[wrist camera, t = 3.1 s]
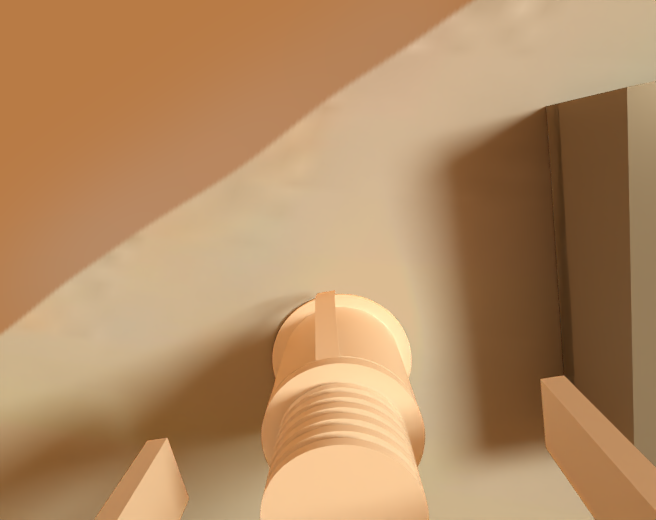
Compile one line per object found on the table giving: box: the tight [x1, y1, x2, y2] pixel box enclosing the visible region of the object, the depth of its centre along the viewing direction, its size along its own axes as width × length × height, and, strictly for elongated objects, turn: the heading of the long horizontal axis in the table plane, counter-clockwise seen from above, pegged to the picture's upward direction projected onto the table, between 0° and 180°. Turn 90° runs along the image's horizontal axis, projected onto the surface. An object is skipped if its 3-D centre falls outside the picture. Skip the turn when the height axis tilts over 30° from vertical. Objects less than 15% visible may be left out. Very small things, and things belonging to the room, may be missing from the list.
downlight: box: [260, 290, 429, 520], centre depth 16 cm, size 8×7×10 cm
